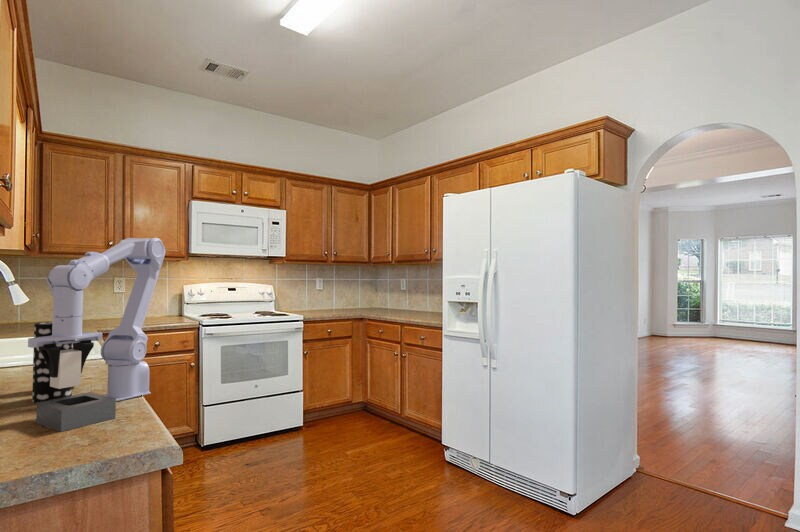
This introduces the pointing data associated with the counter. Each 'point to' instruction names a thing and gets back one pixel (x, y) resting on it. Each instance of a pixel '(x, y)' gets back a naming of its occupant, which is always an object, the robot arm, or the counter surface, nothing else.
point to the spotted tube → (46, 369)
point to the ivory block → (68, 369)
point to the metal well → (75, 411)
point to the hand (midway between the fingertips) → (66, 375)
